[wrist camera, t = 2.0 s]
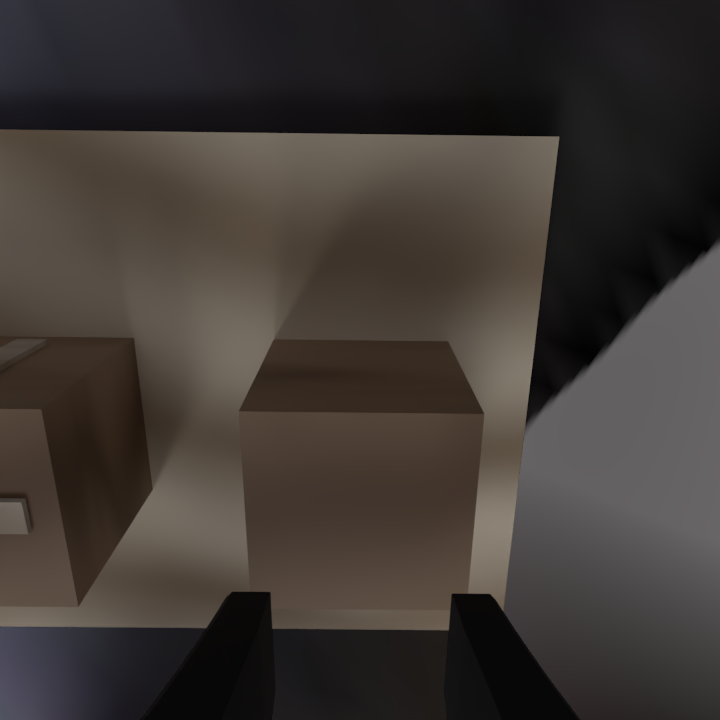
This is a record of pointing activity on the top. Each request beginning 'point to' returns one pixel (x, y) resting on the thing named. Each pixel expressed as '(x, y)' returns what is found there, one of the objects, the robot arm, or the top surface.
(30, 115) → the top surface
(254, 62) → the top surface
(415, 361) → the plain block
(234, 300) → the board
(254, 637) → the robot arm
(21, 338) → the one bar block
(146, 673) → the top surface
